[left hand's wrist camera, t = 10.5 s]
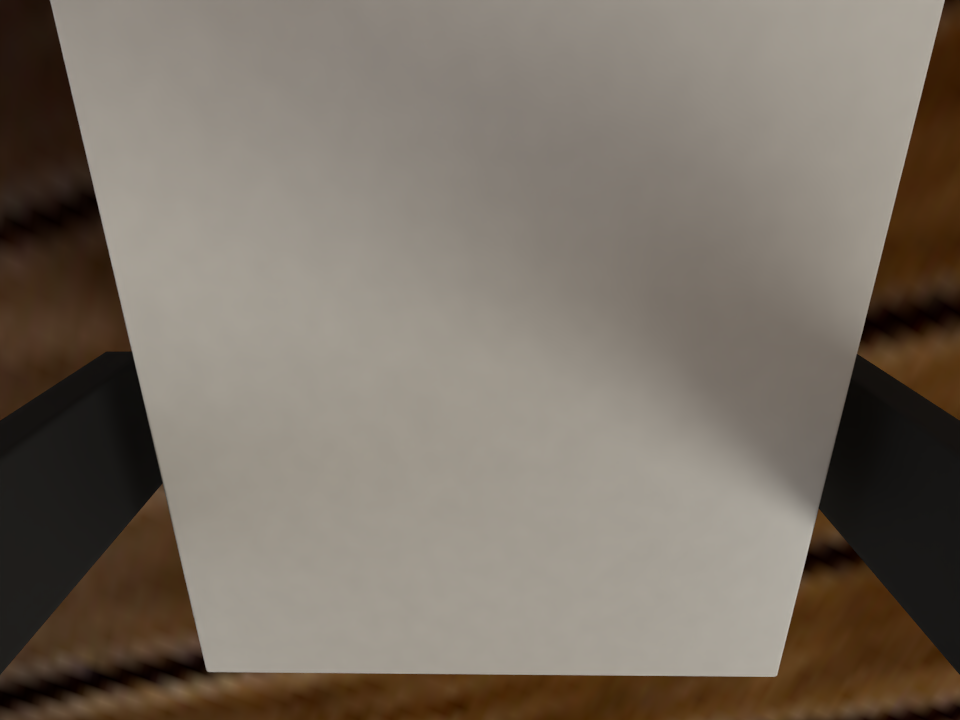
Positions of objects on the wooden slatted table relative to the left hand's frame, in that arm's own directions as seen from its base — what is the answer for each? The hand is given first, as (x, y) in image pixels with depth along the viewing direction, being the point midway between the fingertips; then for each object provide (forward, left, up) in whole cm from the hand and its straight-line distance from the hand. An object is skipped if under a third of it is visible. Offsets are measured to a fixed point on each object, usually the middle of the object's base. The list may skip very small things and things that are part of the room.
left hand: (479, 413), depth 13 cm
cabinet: (+2, +5, -6) cm, 9 cm away
